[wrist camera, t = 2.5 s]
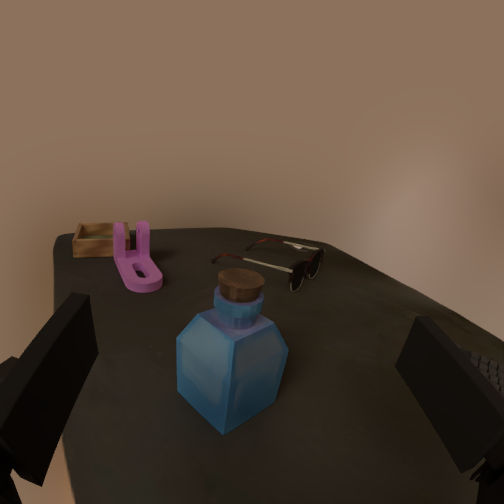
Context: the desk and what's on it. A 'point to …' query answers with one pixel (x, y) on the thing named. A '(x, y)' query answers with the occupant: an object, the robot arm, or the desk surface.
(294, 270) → the sunglasses
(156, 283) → the bracket
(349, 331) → the desk surface
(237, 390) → the blue bottle with cork
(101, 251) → the holder
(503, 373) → the keyboard
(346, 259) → the desk surface
